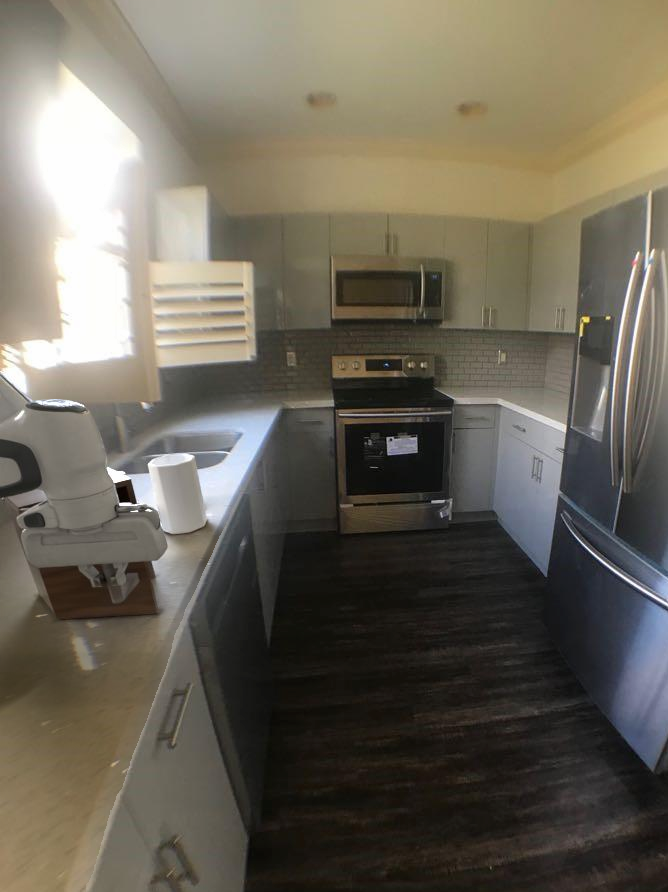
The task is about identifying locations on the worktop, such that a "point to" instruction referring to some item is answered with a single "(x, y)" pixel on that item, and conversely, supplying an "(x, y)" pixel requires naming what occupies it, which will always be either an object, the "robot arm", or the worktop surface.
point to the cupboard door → (99, 591)
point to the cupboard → (38, 496)
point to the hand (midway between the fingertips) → (109, 584)
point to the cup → (177, 493)
